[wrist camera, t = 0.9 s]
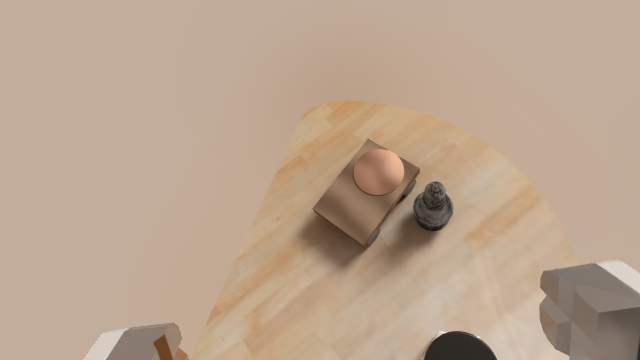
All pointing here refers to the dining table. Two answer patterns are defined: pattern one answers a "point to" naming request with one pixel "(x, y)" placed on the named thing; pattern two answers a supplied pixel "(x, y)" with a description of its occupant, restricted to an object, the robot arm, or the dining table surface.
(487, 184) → the dining table surface
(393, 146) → the dining table surface
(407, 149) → the dining table surface
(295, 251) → the dining table surface
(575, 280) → the robot arm
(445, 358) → the jar
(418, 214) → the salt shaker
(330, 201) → the roller slab
